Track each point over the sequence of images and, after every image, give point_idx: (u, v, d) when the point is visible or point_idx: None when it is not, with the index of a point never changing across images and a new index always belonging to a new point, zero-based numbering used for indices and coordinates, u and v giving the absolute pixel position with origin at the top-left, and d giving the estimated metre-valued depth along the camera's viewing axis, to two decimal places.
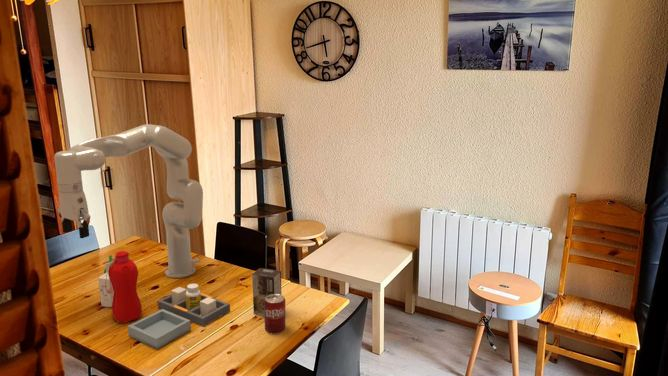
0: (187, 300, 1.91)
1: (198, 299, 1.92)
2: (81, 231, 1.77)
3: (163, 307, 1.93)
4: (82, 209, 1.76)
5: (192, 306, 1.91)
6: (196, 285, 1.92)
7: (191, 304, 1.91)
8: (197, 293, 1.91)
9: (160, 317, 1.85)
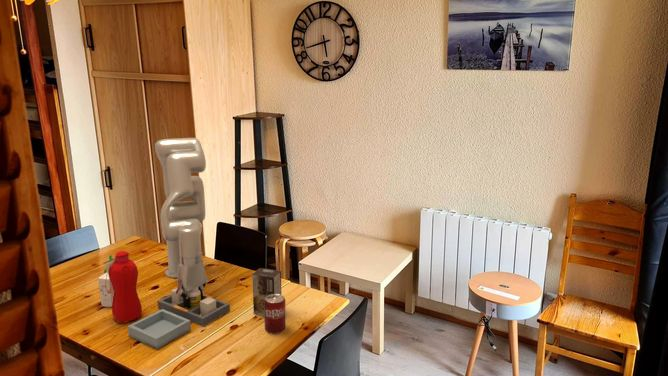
0: None
1: (198, 299, 1.92)
2: None
3: (163, 307, 1.93)
4: None
5: (192, 306, 1.91)
6: None
7: (191, 304, 1.91)
8: (197, 293, 1.91)
9: (160, 317, 1.85)
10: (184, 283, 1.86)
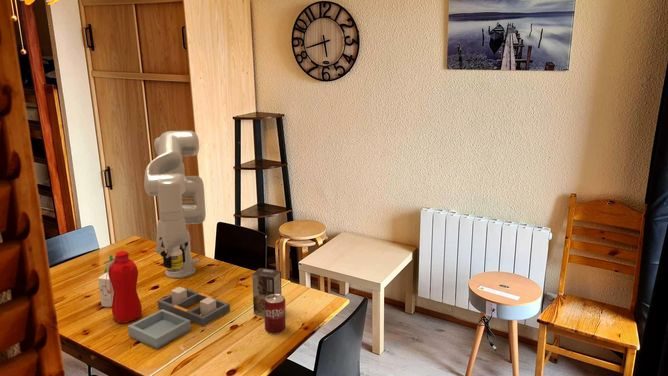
0: None
1: (179, 259, 1.79)
2: None
3: (163, 307, 1.93)
4: None
5: (173, 266, 1.78)
6: None
7: (172, 264, 1.78)
8: (178, 252, 1.78)
9: (160, 317, 1.85)
10: (164, 240, 1.73)
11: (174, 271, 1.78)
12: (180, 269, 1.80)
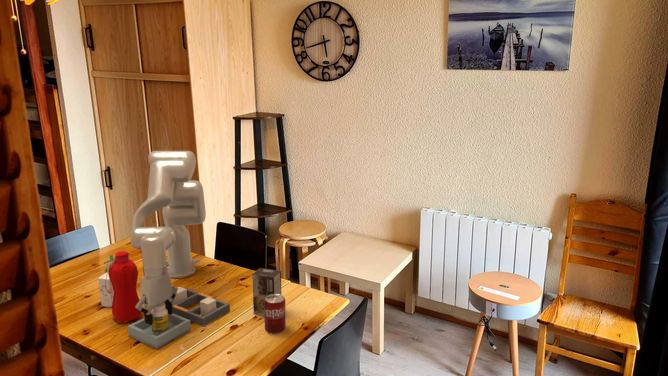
0: None
1: (165, 319, 1.75)
2: None
3: None
4: None
5: (158, 327, 1.75)
6: (163, 304, 1.76)
7: (157, 325, 1.74)
8: (163, 313, 1.75)
9: None
10: (147, 297, 1.69)
11: (159, 332, 1.75)
12: (165, 329, 1.76)
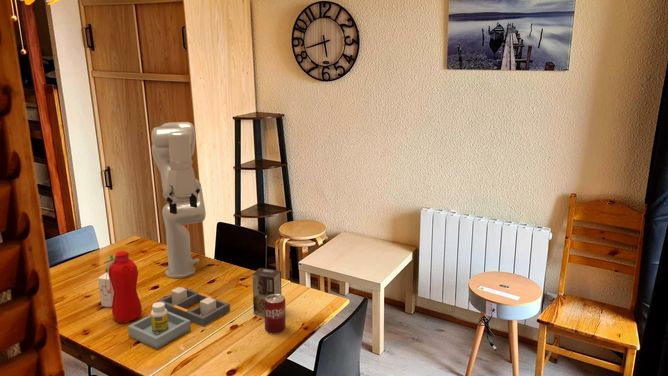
0: (152, 320, 1.75)
1: (164, 319, 1.75)
2: None
3: None
4: None
5: (158, 327, 1.75)
6: (162, 304, 1.76)
7: (157, 325, 1.74)
8: (163, 313, 1.75)
9: None
10: (174, 188, 1.86)
11: (159, 332, 1.75)
12: (165, 329, 1.76)
